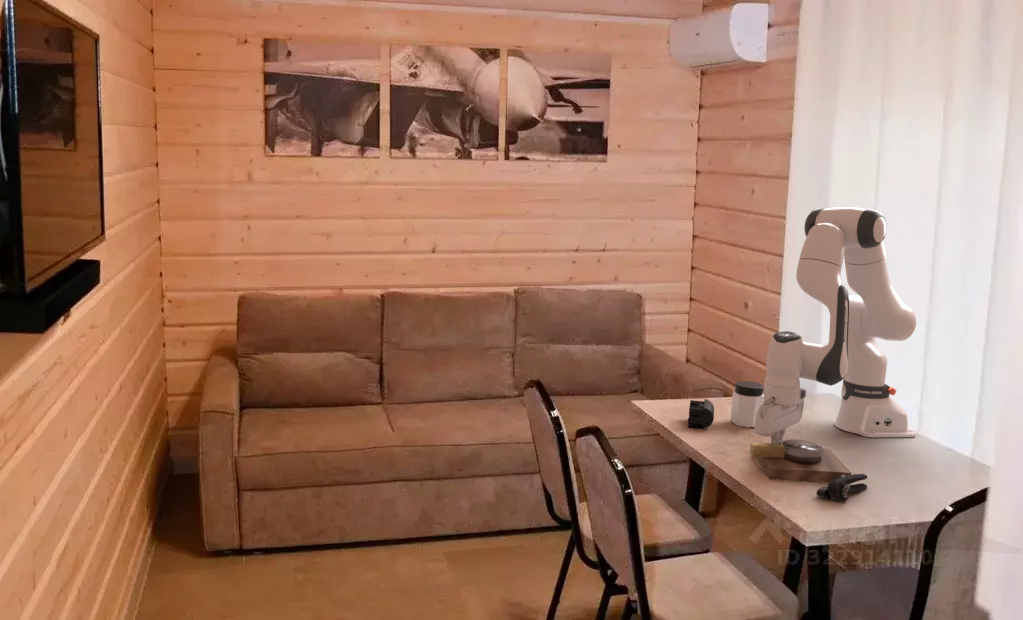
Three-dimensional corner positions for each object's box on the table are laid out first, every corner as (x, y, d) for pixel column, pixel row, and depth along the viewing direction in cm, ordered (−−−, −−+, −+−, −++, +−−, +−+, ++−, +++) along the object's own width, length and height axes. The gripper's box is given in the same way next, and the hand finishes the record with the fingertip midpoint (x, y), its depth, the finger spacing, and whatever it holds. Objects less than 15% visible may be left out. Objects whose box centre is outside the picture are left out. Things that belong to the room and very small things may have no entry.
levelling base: (828, 459, 252) (829, 448, 251) (850, 484, 234) (851, 472, 233) (753, 455, 252) (754, 444, 252) (768, 479, 235) (770, 467, 234)
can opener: (838, 508, 219) (841, 485, 218) (812, 498, 224) (814, 475, 223) (878, 492, 230) (881, 470, 229) (852, 483, 236) (855, 462, 234)
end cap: (712, 431, 272) (714, 408, 270) (687, 428, 273) (689, 406, 272) (712, 421, 281) (714, 399, 280) (688, 419, 283) (690, 397, 281)
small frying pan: (813, 451, 248) (814, 440, 247) (827, 464, 238) (828, 453, 237) (745, 448, 247) (746, 437, 246) (756, 461, 237) (757, 450, 237)
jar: (765, 427, 277) (769, 388, 275) (739, 428, 275) (743, 388, 273) (751, 418, 286) (755, 380, 284) (726, 419, 284) (730, 380, 282)
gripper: (773, 404, 236) (768, 457, 239) (809, 389, 251) (804, 439, 254) (750, 399, 241) (746, 450, 243) (787, 384, 256) (782, 433, 258)
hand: (776, 444), depth 249 cm, fingers closed
